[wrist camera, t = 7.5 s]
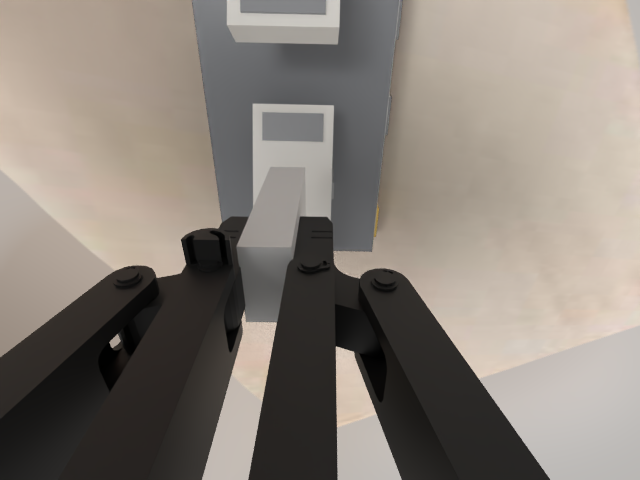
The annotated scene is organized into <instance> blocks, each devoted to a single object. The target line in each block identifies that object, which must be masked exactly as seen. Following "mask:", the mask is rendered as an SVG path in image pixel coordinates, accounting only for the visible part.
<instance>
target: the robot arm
mask: <svg viewBox="0 0 640 480" xmlns="http://www.w3.org/2000/svg"><path fill="white" fill-rule="evenodd" d="M181 242H182V247H183V251H184V256H185V260H186V266H185V268H184V269H183V271H182V273H181V274H177V275H172V276H167V277H161V278H156V275H155V272H154V271H153V269H152V268H149V267H147V266H128V267H124V268H122V269H119V270H116V271H115V272H113V273H111V274H110V275H108V276H107V277H105V278H104V279H103V280H101V281H100V282H99V283H97V284H96V285H95V286H93V287H92V288H91V289H89V290H88V291H87V292H86V293H84V294H83V295H82V296H80V297H79V298H78V299H77V300H75V301H74V302H73V303H71V304H70V305H69V306H67V307H66V308H65V309H63V310H62V311H61V312H59V313H58V314H57V315H55V316H54V317H53V318H52V319H50V320H49V321H48V322H46V323H45V324H44V325H42V326H41V327H40V328H38V329H37V330H36V331H35V332H33V333H32V334H31V335H29V336H28V337H27V338H25V339H24V340H23V341H21V342H20V343H19V344H17V345H16V346H15V347H14V348H12V349H11V350H10V351H8V352H7V353H6V354H4V355H3V356H2V357H0V480H202V477H203V473H204V470H205V466H206V463H207V459H208V455H209V452H210V448H211V445H212V441H213V437H214V434H215V431H216V427H217V423H218V420H219V416H220V412H221V409H222V406H223V402H224V398H225V395H226V391H227V388H228V384H229V380H230V377H231V373H232V370H233V366H234V363H235V359H236V356H237V352H238V348H239V345H240V341H241V338H242V334H243V328H242V321H241V319H242V316H243V312H244V309H245V317H246V322H277V326H276V331H275V337H274V342H273V348H272V353H271V359H270V364H269V370H268V375H267V381H266V386H265V392H264V397H263V402H262V408H261V413H260V419H259V425H258V430H257V435H256V441H255V446H254V452H253V457H252V463H251V469H250V474H249V479H248V480H337V414H336V346H337V347H340V348H344V349H347V350H350V351H354V353H355V359H356V361H357V364H358V366H359V369H360V372H361V374H362V377H363V379H364V382H365V385H366V387H367V390H368V392H369V395H370V398H371V400H372V403H373V405H374V408H375V411H376V413H377V416H378V419H379V421H380V424H381V426H382V429H383V432H384V434H385V437H386V439H387V442H388V445H389V447H390V450H391V452H392V455H393V458H394V460H395V463H396V465H397V468H398V471H399V473H400V476H401V478H402V480H550V479H549V477H548V476H547V475H546V473H545V472H544V470H543V469H542V468H541V466H540V465H539V463H538V462H537V460H536V459H535V458H534V456H533V455H532V454H531V452H530V451H529V449H528V448H527V446H526V445H525V444H524V442H523V441H522V439H521V438H520V437H519V435H518V434H517V433H516V431H515V430H514V428H513V427H512V425H511V424H510V422H509V421H508V420H507V418H506V417H505V415H504V414H503V413H502V411H501V410H500V408H499V407H498V406H497V404H496V403H495V401H494V400H493V399H492V397H491V396H490V394H489V393H488V392H487V390H486V389H485V387H484V386H483V384H482V383H481V382H480V380H479V379H478V377H477V376H476V375H475V373H474V372H473V370H472V369H471V368H470V366H469V365H468V363H467V362H466V361H465V359H464V358H463V356H462V355H461V354H460V352H459V351H458V349H457V348H456V346H455V345H454V344H453V342H452V341H451V339H450V338H449V337H448V335H447V334H446V332H445V331H444V330H443V328H442V327H441V325H440V324H439V323H438V321H437V320H436V318H435V317H434V316H433V314H432V313H431V311H430V310H429V308H428V307H427V306H426V304H425V303H424V301H423V300H422V299H421V297H420V296H419V294H418V293H417V292H416V290H415V289H414V287H413V286H412V285H411V283H410V282H409V280H408V279H407V278H406V277H405V276H404V275H403V274H400V273H398V272H396V271H394V270H390V269H373V270H369V271H367V272H365V273H364V274H362V276H361V278H360V279H358V278H354V277H351V276H347V275H345V274H343V273H341V272H340V271H339V270H338V269H337V268H336V267H335V265H334V258H333V223H332V222H331V221H330V220H329V218H328V217H307V216H306V184H305V167H270V169H269V171H268V173H267V176H266V178H265V181H264V183H263V185H262V188H261V190H260V192H259V195H258V197H257V199H256V202H255V204H254V206H253V209H252V211H251V213H250V216H249V217H240V216H231V217H229V218H228V219H227V220H225V221H224V222H222V223H221V225H220V227H219V229H215V228H207V229H200V230H196V231H193V232H191V233H189V234H187V235H185V236H184V237H183V238H182V239H181ZM117 334H118V335H119V337H120V340H121V342H120V343H119V344H118V345H117V346H115V347H114V348H111V346H110V343H109V342H110V340H112V339H113V338H114V337H115V336H116V335H117Z"/></svg>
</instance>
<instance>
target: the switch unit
mask: <svg viewBox="0 0 640 480" xmlns="http://www.w3.org/2000/svg"><path fill="white" fill-rule="evenodd" d="M402 2H403V0H340V21H339V36H338V44H294V43H249V42H235V40H234V38H233V36H232V34H231V32H230V30H229V28H228V26H227V0H192V5H193V12H194V20H195V27H196V34H197V42H198V49H199V56H200V64H201V71H202V78H203V86H204V93H205V100H206V108H207V115H208V122H209V129H210V137H211V144H212V151H213V159H214V166H215V173H216V181H217V188H218V195H219V203H220V210H221V217H222V222H224V221H225V220H227V219H228V218H229V217H231V216H240V217H249V216H250V213H251V211H252V209H253V104H296V105H334V122H333V157H332V192H331V222H332V223H333V251H369V252H372V244H373V237H376V230H377V222H378V213H379V207H378V204H377V203H378V194H379V185H380V176H381V167H382V158H383V149H384V140H385V135H387V134H388V125H389V116H390V107H391V99H392V96H391V95H390V85H391V76H392V67H393V58H394V49H395V40H398V37H399V28H400V20H401V11H402Z"/></svg>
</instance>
